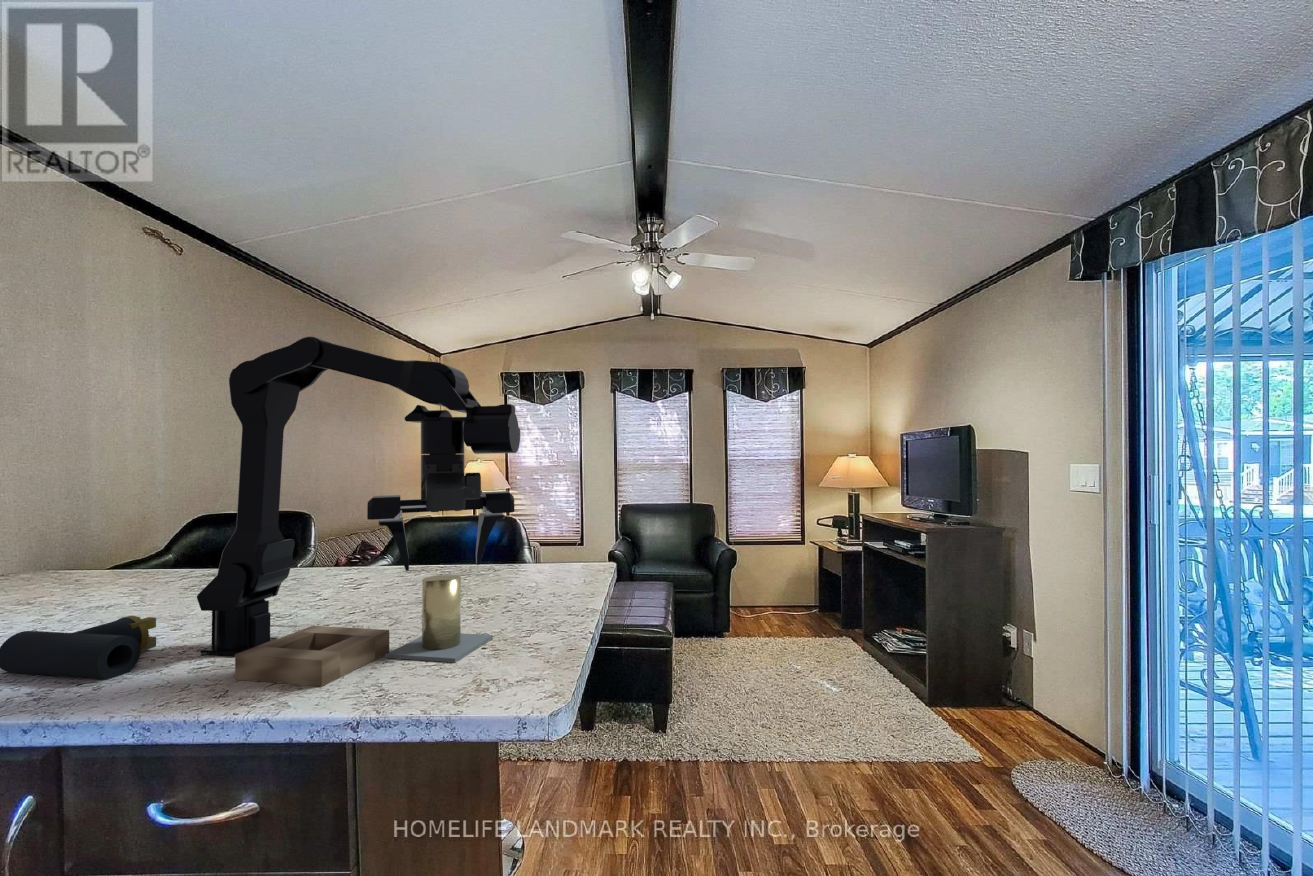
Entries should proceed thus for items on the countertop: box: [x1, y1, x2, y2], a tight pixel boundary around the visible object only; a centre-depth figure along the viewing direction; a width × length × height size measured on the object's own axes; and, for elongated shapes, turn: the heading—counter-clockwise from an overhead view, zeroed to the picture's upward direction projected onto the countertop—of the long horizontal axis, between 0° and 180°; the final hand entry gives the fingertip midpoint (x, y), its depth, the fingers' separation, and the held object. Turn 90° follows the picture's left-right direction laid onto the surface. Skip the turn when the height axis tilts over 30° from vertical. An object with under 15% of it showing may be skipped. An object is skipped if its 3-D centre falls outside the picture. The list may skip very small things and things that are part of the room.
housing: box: [234, 625, 390, 687], centre depth 75 cm, size 12×12×3 cm
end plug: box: [421, 574, 462, 650], centre depth 81 cm, size 5×5×9 cm
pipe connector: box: [0, 615, 157, 680], centre depth 77 cm, size 12×5×15 cm
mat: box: [385, 632, 494, 663], centre depth 81 cm, size 10×10×1 cm
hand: (443, 567), depth 82 cm, fingers open, 9 cm apart
